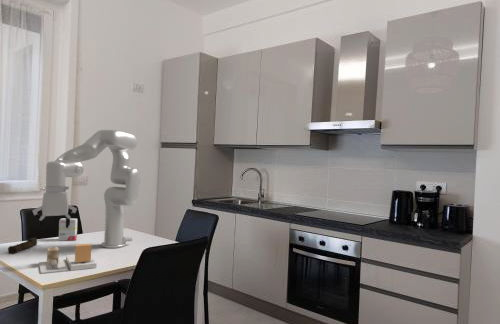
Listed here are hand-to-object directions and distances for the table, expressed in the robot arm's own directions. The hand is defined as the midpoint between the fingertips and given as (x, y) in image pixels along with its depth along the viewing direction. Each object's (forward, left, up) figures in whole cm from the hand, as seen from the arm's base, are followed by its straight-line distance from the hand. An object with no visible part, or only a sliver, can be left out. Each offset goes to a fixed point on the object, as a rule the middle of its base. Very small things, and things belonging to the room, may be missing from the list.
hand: (54, 228), depth 166 cm
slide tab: (-11, +9, -13) cm, 19 cm away
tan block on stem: (0, +4, -15) cm, 16 cm away
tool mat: (0, +5, -16) cm, 16 cm away
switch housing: (-11, +4, -16) cm, 19 cm away
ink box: (-11, -47, -16) cm, 50 cm away
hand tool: (+11, -32, -16) cm, 37 cm away
